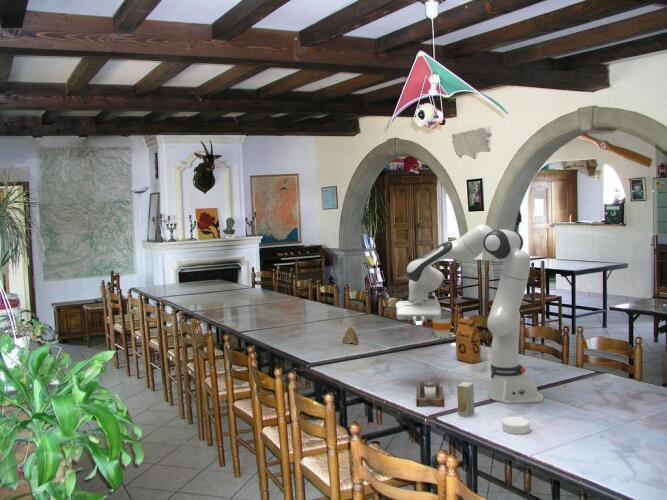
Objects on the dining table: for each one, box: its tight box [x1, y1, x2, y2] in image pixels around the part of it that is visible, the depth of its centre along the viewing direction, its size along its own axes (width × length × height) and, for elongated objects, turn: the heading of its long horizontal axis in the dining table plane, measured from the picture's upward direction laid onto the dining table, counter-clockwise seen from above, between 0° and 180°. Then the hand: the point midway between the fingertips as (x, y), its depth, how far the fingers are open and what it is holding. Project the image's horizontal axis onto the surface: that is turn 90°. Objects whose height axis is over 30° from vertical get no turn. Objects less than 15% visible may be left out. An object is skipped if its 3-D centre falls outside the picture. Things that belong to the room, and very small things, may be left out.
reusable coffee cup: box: [431, 310, 453, 338], centre depth 403 cm, size 13×13×15 cm
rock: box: [341, 326, 359, 345], centre depth 392 cm, size 11×9×10 cm
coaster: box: [501, 416, 531, 435], centre depth 240 cm, size 10×10×4 cm
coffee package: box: [455, 318, 482, 364], centre depth 340 cm, size 10×12×22 cm
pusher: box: [419, 380, 441, 399], centre depth 282 cm, size 8×5×7 cm, turn 82°
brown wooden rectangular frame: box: [415, 386, 445, 408], centre depth 279 cm, size 11×18×3 cm, turn 172°
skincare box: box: [456, 381, 475, 417], centre depth 259 cm, size 6×4×12 cm
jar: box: [424, 380, 437, 399], centre depth 275 cm, size 5×5×8 cm
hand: (418, 326), depth 290 cm, fingers closed
